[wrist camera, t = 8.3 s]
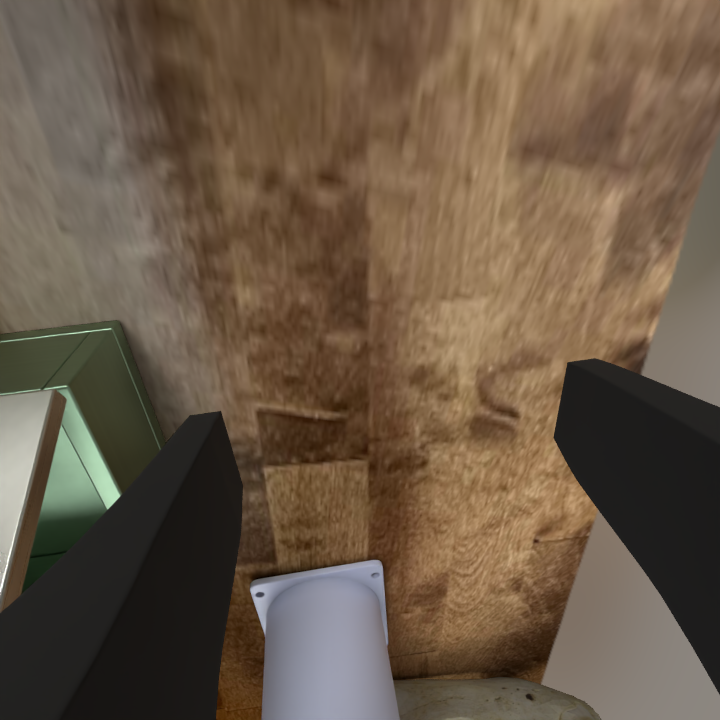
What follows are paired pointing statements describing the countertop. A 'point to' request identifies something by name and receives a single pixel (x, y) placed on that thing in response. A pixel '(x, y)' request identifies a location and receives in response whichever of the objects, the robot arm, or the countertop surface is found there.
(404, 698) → the jawbone
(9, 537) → the bin lid
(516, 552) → the countertop surface
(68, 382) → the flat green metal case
